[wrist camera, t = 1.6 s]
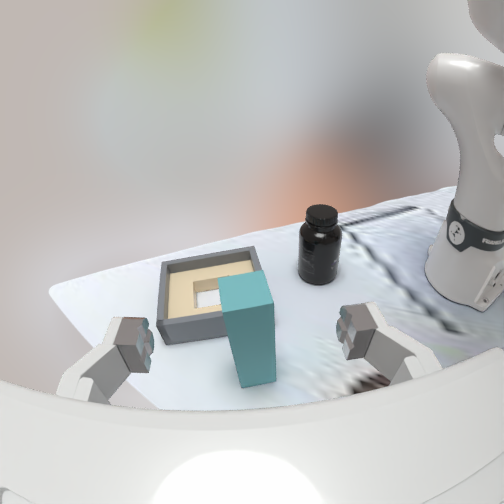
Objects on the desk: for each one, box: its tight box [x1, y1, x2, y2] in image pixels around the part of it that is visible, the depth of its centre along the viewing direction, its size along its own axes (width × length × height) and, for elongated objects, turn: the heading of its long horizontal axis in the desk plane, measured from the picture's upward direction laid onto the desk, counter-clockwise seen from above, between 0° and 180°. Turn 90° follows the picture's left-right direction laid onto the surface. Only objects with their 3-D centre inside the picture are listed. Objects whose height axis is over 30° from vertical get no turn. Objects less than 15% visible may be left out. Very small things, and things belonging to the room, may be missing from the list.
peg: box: [218, 270, 276, 388], centre depth 30 cm, size 4×4×15 cm
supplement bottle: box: [298, 204, 342, 284], centre depth 45 cm, size 7×7×12 cm
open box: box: [156, 246, 262, 345], centre depth 43 cm, size 16×14×4 cm
